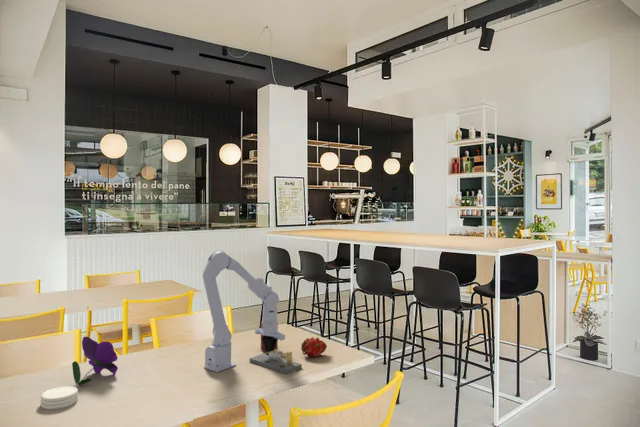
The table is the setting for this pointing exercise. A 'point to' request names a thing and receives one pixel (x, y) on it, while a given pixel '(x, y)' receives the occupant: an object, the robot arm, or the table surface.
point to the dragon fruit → (313, 347)
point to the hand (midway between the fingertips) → (269, 354)
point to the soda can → (262, 342)
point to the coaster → (59, 397)
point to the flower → (96, 358)
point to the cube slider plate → (277, 363)
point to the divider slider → (274, 354)
